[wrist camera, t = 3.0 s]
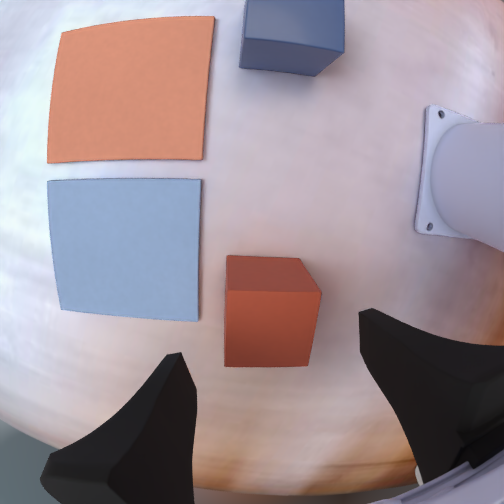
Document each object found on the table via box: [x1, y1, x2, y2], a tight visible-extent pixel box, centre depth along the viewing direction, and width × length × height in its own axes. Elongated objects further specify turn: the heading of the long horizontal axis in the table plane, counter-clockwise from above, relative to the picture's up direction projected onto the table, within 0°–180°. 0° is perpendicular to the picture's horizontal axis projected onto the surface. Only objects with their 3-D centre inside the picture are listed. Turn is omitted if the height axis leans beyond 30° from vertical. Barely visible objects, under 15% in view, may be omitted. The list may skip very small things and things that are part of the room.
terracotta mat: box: [47, 16, 215, 163], centre depth 13 cm, size 9×8×1 cm
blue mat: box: [47, 178, 201, 322], centre depth 16 cm, size 9×8×1 cm
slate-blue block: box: [239, 0, 345, 76], centre depth 11 cm, size 4×4×4 cm
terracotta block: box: [224, 255, 322, 367], centre depth 16 cm, size 4×4×4 cm
